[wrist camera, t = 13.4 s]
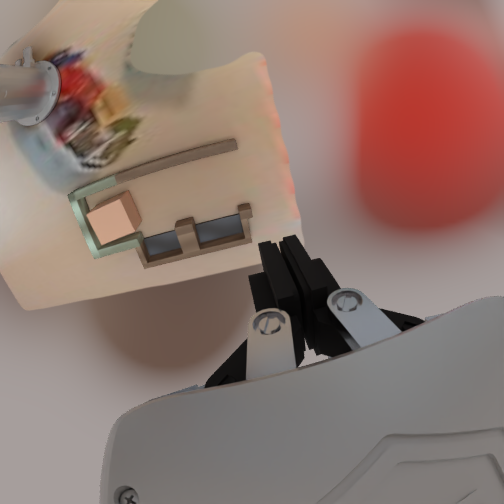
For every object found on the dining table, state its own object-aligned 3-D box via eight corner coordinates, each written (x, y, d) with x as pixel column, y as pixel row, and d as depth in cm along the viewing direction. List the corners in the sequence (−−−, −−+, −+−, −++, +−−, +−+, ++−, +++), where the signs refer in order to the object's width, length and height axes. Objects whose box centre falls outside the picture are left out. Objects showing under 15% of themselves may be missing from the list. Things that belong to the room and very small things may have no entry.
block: (96, 204, 43) (86, 214, 39) (128, 190, 43) (119, 198, 39) (110, 233, 46) (101, 245, 42) (141, 220, 46) (135, 231, 42)
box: (74, 190, 41) (67, 195, 39) (234, 138, 42) (235, 140, 39) (108, 270, 50) (104, 279, 47) (255, 233, 50) (257, 241, 48)
